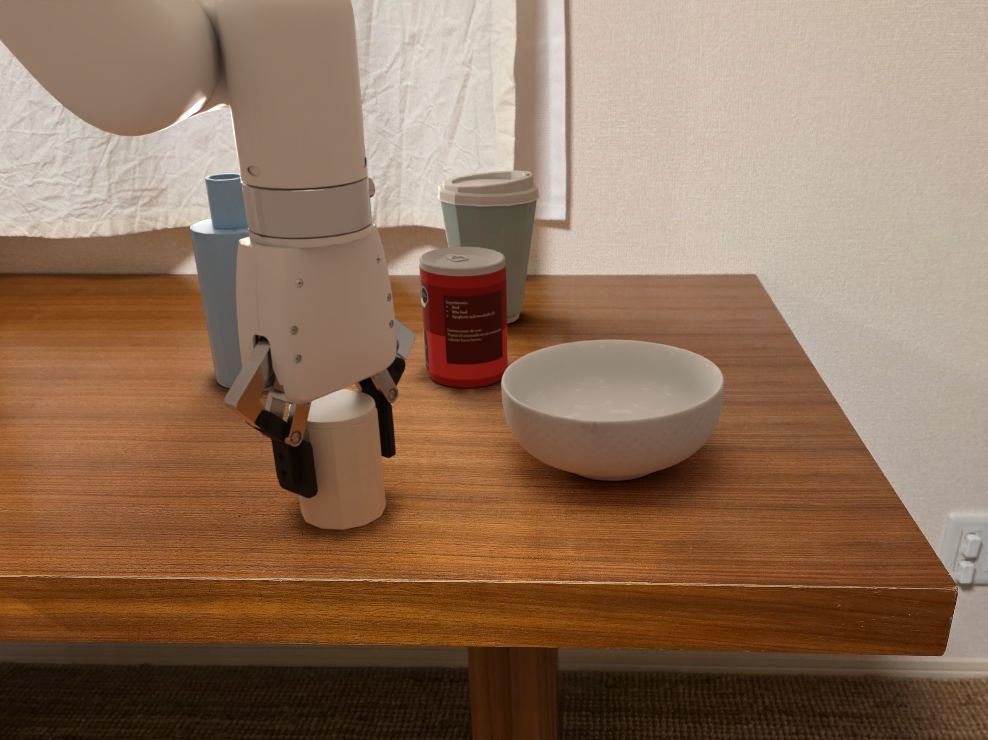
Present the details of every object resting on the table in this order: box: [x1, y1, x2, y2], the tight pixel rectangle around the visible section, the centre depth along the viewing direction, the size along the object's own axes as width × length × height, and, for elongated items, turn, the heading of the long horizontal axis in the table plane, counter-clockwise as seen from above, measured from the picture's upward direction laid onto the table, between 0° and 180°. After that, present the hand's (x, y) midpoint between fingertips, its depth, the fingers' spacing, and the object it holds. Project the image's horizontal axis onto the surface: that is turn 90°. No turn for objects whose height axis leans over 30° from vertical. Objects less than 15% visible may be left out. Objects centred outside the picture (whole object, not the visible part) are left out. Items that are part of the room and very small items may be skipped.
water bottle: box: [189, 172, 249, 389], centre depth 91 cm, size 7×7×18 cm
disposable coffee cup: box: [436, 170, 540, 324], centre depth 107 cm, size 11×11×15 cm
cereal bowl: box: [500, 339, 725, 482], centre depth 77 cm, size 17×17×7 cm
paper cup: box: [286, 389, 387, 530], centre depth 70 cm, size 6×6×8 cm
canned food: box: [418, 247, 509, 389], centre depth 93 cm, size 8×8×11 cm
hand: (339, 469), depth 70 cm, fingers open, 6 cm apart
